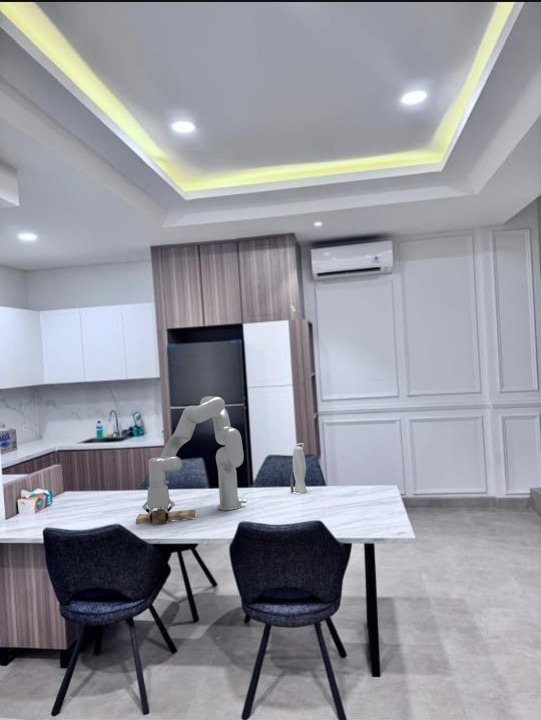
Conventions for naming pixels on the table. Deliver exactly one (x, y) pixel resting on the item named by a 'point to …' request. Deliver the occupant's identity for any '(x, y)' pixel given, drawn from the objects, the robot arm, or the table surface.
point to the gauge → (158, 516)
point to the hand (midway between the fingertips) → (159, 521)
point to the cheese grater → (298, 470)
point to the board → (172, 515)
